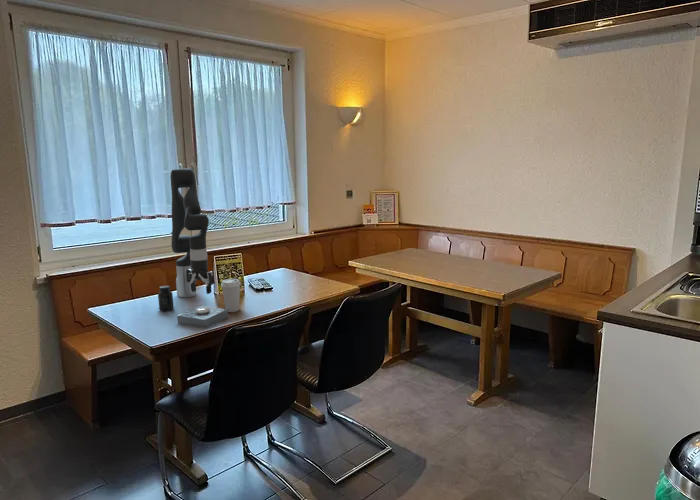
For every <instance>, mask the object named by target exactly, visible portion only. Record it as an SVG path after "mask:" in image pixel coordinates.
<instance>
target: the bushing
mask: <svg viewBox="0 0 700 500" xmlns="http://www.w3.org/2000/svg"><path fill="white" fill-rule="evenodd" d="M209 307H210V306H208V307H200V308H197V309H196V314H207V313H209V312H210V310H209Z"/></svg>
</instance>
